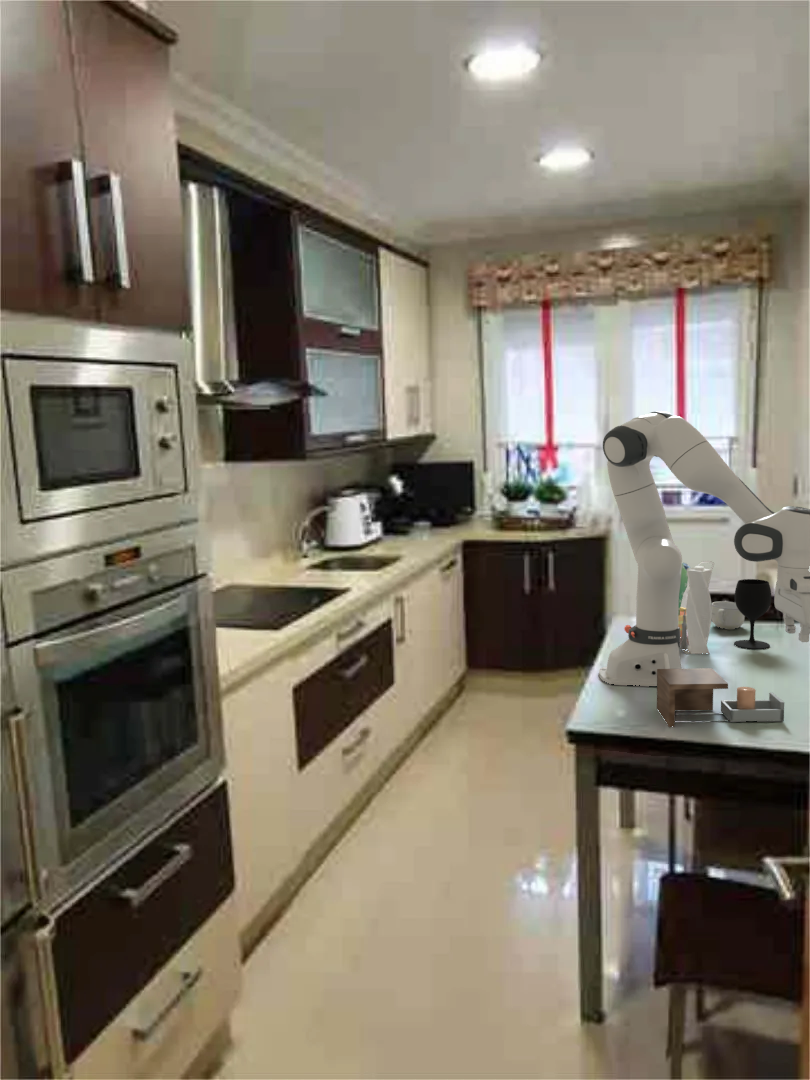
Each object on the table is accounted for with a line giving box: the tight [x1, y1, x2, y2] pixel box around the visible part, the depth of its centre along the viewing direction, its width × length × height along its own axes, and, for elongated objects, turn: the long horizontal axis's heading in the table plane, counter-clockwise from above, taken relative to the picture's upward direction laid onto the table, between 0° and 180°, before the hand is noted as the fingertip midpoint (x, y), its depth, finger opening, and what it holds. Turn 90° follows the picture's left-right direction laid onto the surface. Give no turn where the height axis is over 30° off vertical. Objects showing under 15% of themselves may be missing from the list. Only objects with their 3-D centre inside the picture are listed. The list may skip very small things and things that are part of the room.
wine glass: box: [733, 578, 772, 650], centre depth 252 cm, size 10×10×20 cm
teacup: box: [711, 600, 746, 630], centre depth 275 cm, size 14×11×8 cm
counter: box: [656, 667, 766, 728], centre depth 193 cm, size 26×12×10 cm, turn 86°
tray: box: [720, 692, 785, 723], centre depth 193 cm, size 12×7×4 cm, turn 86°
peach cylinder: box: [736, 686, 757, 709], centre depth 193 cm, size 4×4×6 cm
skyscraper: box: [680, 560, 715, 655], centre depth 247 cm, size 8×8×28 cm
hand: (796, 637), depth 189 cm, fingers open, 6 cm apart
